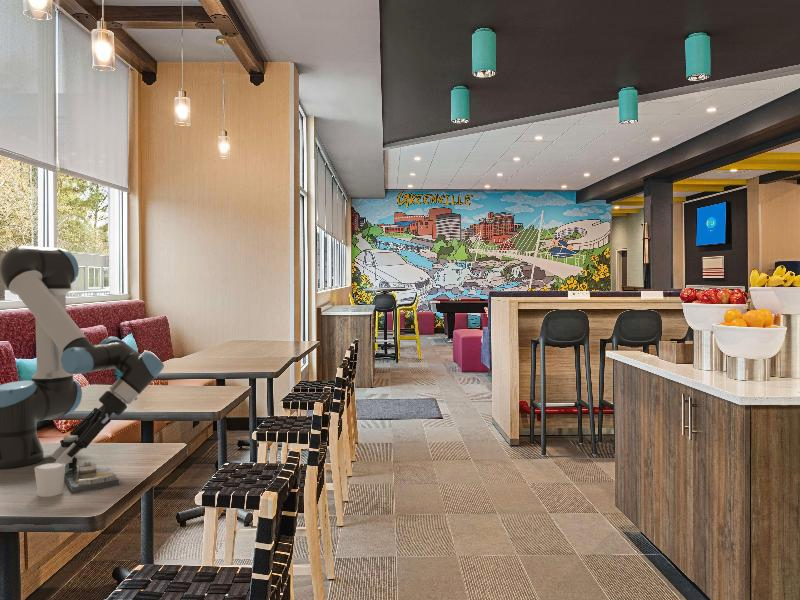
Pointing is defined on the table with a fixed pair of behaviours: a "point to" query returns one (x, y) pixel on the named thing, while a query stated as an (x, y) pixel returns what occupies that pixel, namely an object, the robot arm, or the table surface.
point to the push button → (66, 444)
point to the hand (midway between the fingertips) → (57, 461)
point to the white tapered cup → (50, 479)
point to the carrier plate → (90, 478)
